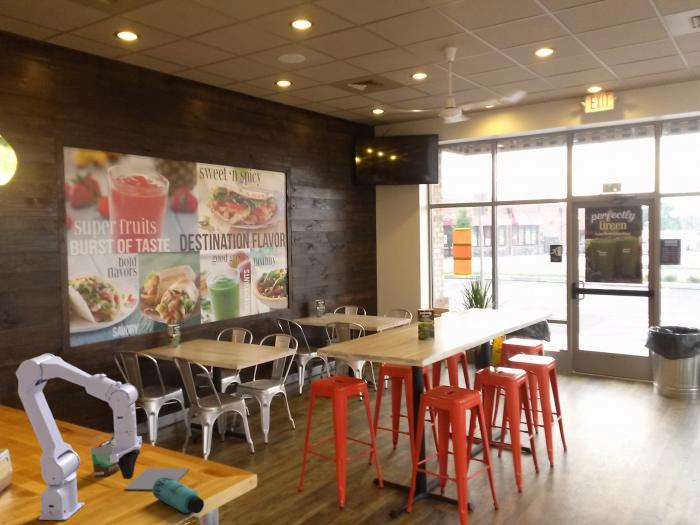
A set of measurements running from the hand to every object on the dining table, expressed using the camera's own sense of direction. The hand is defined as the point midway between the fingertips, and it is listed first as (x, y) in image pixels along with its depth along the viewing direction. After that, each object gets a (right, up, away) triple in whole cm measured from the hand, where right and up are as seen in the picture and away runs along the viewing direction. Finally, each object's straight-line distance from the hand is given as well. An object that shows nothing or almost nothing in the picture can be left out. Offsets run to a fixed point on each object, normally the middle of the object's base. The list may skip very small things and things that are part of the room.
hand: (128, 477), depth 164 cm
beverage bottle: (+6, -5, +9) cm, 12 cm away
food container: (-16, -9, +29) cm, 34 cm away
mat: (+1, -8, +21) cm, 23 cm away
